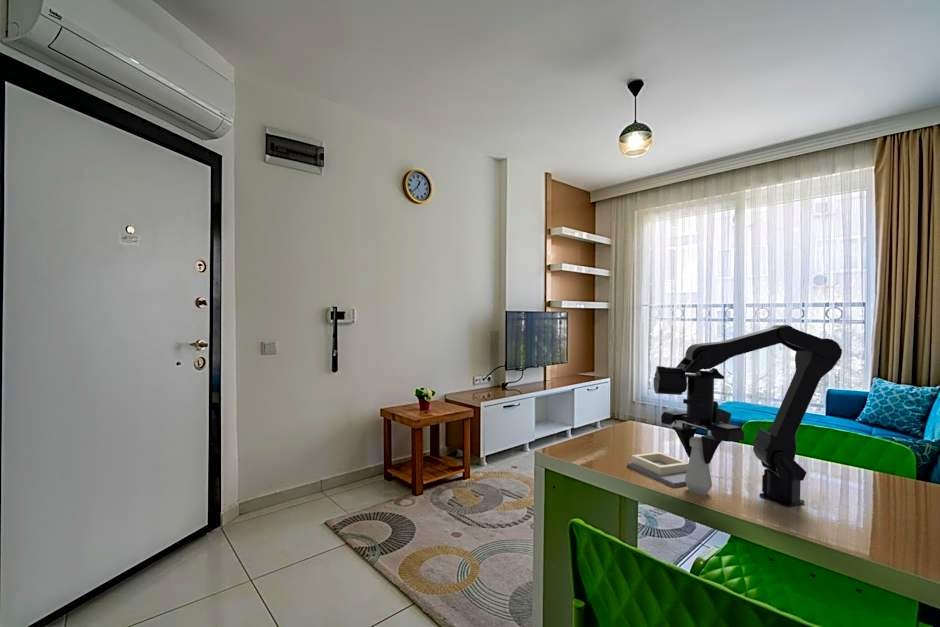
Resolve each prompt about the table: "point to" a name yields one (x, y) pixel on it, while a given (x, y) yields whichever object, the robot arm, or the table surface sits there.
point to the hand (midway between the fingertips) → (698, 460)
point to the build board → (661, 468)
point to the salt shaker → (698, 469)
